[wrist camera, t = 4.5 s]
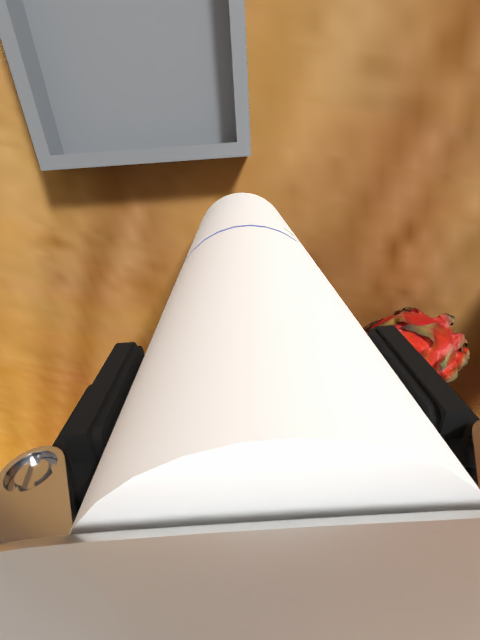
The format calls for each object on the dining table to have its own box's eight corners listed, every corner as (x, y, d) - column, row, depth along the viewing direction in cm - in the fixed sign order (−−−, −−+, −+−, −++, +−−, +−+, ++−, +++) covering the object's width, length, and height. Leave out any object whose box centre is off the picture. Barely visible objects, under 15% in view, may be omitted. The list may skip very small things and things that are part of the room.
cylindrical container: (216, 177, 26) (114, 363, 3) (299, 213, 27) (614, 515, 5) (187, 261, 29) (31, 653, 6) (263, 290, 30) (354, 696, 8)
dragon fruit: (442, 322, 39) (336, 331, 41) (474, 285, 32) (342, 298, 33) (465, 395, 35) (347, 401, 37) (506, 372, 28) (356, 381, 30)
